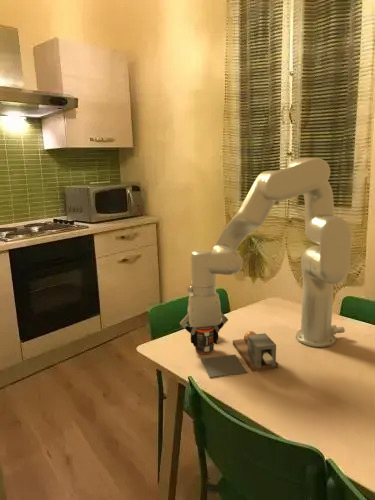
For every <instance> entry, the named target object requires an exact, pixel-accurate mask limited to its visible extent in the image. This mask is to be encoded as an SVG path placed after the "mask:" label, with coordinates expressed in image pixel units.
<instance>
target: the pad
mask: <svg viewBox="0 0 375 500" xmlns="http://www.w3.org/2000/svg"><path fill="white" fill-rule="evenodd" d="M200 361H201V363H202V365H203V367H204V369H205V371H206V374H207V375H208V378H209V379H215V378H223V377H230V376H231V377H232V376H235V375H236V376H237V375H244V374H245V375H246V374H248V371H247V370H246V368H245V366H244V365H243V363H242V362H241V361H240V358H238V356H237V355H236V354H227V355H219V356H211V357H210V356H209V357H202V358H200Z"/></svg>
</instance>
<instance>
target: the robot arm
mask: <svg viewBox="0 0 375 500" xmlns="http://www.w3.org/2000/svg"><path fill="white" fill-rule="evenodd" d="M330 176H331V168H330V165H329V163H328V162H327V161H325V160H324V159H322V158H320V157H300V158H296V159H292V160H291V161H290V162H289V163H288V165H287V167H286V168H284V169H280V170H265V171H262V172H260V173H259V174H258V175H257V177H256V178H255V180H254V181H253V183H252V185H251V187H250V189H249V191H248V193H247V195H246V196H245V198H244V200H243V201H242V203H241V205H240V207H239V209H238V211H237V213H236V214H235V215H234V216H233V218H231V220H229V222H228V224H227V225H226V226H225V227H223V230H222V231H221V232H220V234H219V236H218V238H217V240H216V241H215V243H214V246H213V247H212V250H211V249H206V248H205V249H202V248H201V249H196V250H193V251H192V252H191V254H190V281H191V282H190V286H188V287H186V292H189V295H188V300H187V301H188V302H187V314H186V315H185V316H184V317H183V318H182V319H181V321H180V322H179V324H180V326H181V327H182V328H183V329H185V330H186V331H187V332H188V333H190V343H191V344H192V345H193V347H194V348H195V347H196V346H197V343H196V334H195V331H196V329H197V328H198V327H208V326H214V345H217V344H218V342H217V341H219V332H220V330H221V329H222V328H223V327H224V325H225V324H226V323H227V322H228V321H229V319H228V317H227V316H226V315H224V313H222V309H221V300H220V296H219V295H220V294H219V292H217V290H216V289H217V288H216V286H217V285H216V282H217V281H216V280H217V279H216V275H224V276H226V275H227V276H232V275H236V274H238V273H239V272H240V271H241V270H242V267H243V266H244V261H243V258H242V256H241V255H240V254H239V253H238V252H237V250H238V249H239V247H240V245H241V244H242V242H243V241H244V240H245V239H246V238H247V236H249V235H250V234H252V233H253V232H256V231H258V230H260V228H262V227H263V225H264V224H265V222H266V220H267V218H268V216H269V214H270V213H271V211H272V209H273V207H274V205H275V203H276V202H283V201H287V200H291V199H294V198H296V197H299V196H302V195H303V199H304V231H305V237H307V239H308V240H310V241H311V242H313V243H315V244H318V245H313V246H310V247H308V248H306V250H304V251H303V254H302V255H301V260H300V267H301V275H302V294H301V296H302V297H301V324H300V325H301V326H300V330H298V331H296V333H295V338H296V340H297V341H298V342H299V343H301V344H304V345H306V346H309V347H314V348H315V347H317V348H326V346H327V347H329V346H330V345H331V346H332V345H334V344H335V343H336V342H337V341H336V340H337V339H336V336H335V335H336V334H342V333H345V331H346V329H345V327H344V326H337V325H336V324H335V325H333V324H332V320H333V305H334V304H333V300H334V285H338V284H340V283H342V282H343V281H345V280H346V279H347V277H348V276H349V272H350V269H351V255H352V254H351V251H352V233H351V229H350V226H349V224H348V222H347V221H346V220H345V219H344V218H342V217H340V216H336V215H335V203H334V193H333V188H332V186H331V184H330V182H329V178H330ZM187 322H188V323H189V325H188V324H187Z"/></svg>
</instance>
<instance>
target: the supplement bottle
mask: <svg viewBox="0 0 375 500" xmlns="http://www.w3.org/2000/svg"><path fill="white" fill-rule="evenodd" d="M195 334H196V343H197V346H196V347H194V348H195V352H196V353H198V354H201V355H208V354H212V353H213V352H214V348H215V347H214V346H215V344H214V326H208V327H198V328H197V329H196V331H195Z"/></svg>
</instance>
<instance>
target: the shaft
mask: <svg viewBox="0 0 375 500" xmlns="http://www.w3.org/2000/svg"><path fill="white" fill-rule="evenodd" d="M255 334H257V333H256V332H255V331H252V330H251V331H248V332H246V333H245V334H244V336H243V339H244V341H245V343H246V344H247V345H248V335H255ZM261 358H262V359H263V360H264V362H265V363H266V364H267V365H270V364H272V363H273V358H272V357H271V355H270V354H269V353H268V352H267V351H266V350H261Z"/></svg>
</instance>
